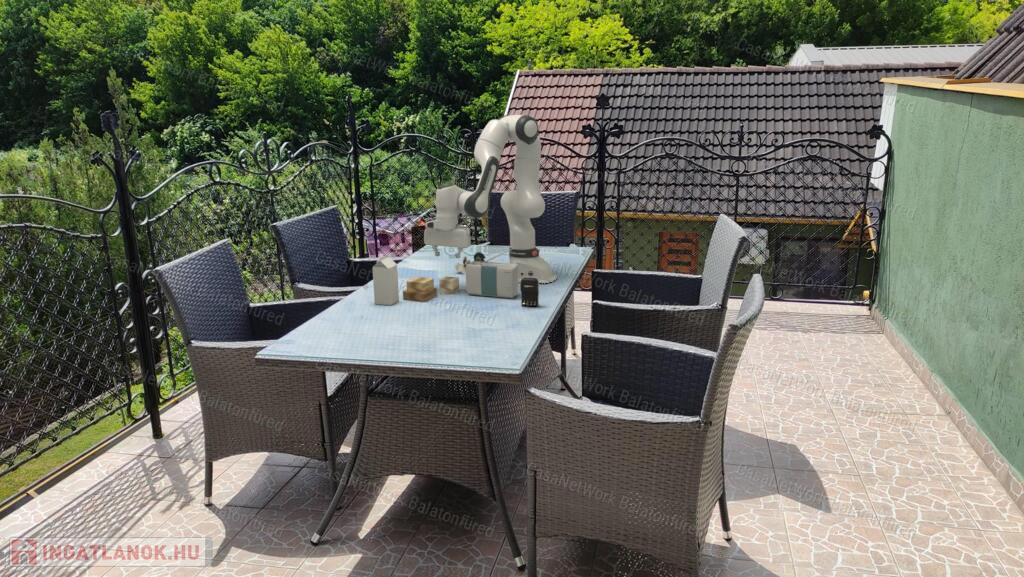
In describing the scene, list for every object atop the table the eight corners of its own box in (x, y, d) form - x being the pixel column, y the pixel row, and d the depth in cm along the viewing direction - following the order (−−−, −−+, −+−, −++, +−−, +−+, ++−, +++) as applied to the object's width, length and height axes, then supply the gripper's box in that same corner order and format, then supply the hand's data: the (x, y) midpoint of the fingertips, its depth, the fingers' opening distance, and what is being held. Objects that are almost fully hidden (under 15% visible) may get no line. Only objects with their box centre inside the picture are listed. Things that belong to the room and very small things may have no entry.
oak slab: (434, 287, 281) (433, 278, 280) (424, 292, 274) (423, 283, 273) (417, 286, 285) (416, 276, 284) (406, 290, 277) (406, 281, 276)
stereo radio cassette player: (465, 295, 283) (464, 248, 278) (473, 290, 291) (472, 244, 285) (513, 300, 276) (512, 251, 271) (520, 294, 284) (519, 247, 278)
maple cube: (459, 291, 290) (458, 277, 289) (452, 294, 285) (452, 280, 283) (446, 290, 292) (446, 276, 291) (439, 293, 287) (439, 279, 285)
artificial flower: (489, 268, 338) (492, 249, 333) (465, 283, 319) (468, 264, 315) (473, 261, 341) (476, 243, 336) (449, 276, 322) (452, 257, 318)
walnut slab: (437, 297, 283) (436, 287, 282) (425, 303, 274) (424, 293, 273) (415, 294, 287) (415, 285, 286) (403, 300, 278) (402, 291, 277)
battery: (519, 307, 266) (519, 278, 263) (522, 304, 270) (521, 276, 267) (537, 308, 264) (537, 279, 261) (539, 305, 268) (539, 276, 265)
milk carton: (399, 301, 276) (396, 254, 271) (390, 305, 270) (387, 258, 265) (383, 299, 278) (380, 253, 274) (374, 304, 272) (371, 257, 267)
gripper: (473, 224, 280) (473, 257, 283) (429, 221, 288) (429, 253, 291) (466, 226, 274) (466, 260, 278) (421, 223, 282) (422, 256, 285)
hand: (447, 257), depth 284 cm, fingers open, 8 cm apart
